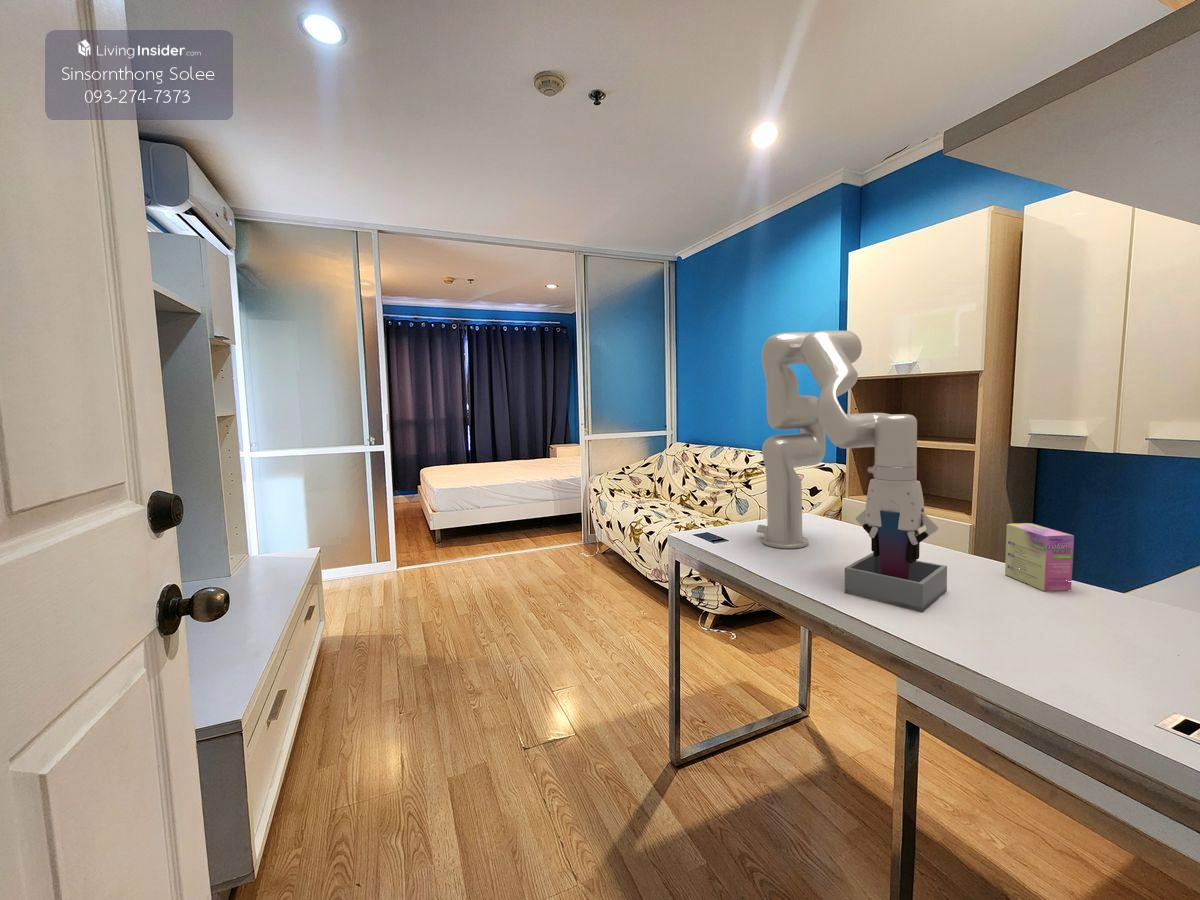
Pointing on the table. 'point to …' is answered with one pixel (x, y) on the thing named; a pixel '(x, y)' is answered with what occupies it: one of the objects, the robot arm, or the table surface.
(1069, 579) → the box
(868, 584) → the box
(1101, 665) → the table surface
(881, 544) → the cup
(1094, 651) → the table surface
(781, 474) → the robot arm
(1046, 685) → the table surface
